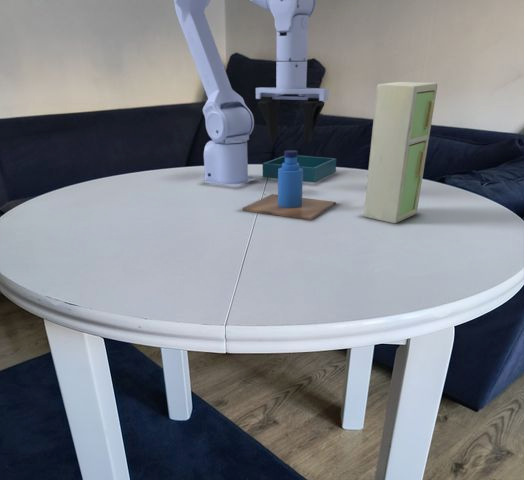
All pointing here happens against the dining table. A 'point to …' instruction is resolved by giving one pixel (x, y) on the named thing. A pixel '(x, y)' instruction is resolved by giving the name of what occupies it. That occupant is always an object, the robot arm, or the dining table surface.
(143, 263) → the dining table surface
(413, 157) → the toy refrigerator
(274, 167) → the teal square tray
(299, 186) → the water bottle
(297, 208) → the brown wooden board
